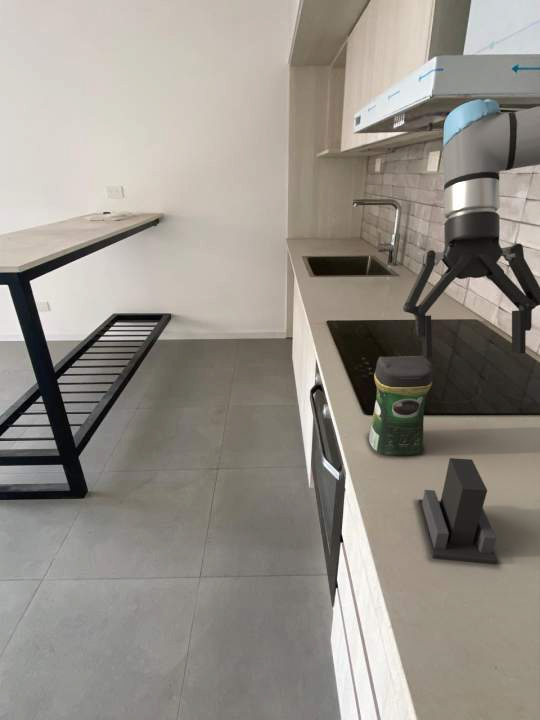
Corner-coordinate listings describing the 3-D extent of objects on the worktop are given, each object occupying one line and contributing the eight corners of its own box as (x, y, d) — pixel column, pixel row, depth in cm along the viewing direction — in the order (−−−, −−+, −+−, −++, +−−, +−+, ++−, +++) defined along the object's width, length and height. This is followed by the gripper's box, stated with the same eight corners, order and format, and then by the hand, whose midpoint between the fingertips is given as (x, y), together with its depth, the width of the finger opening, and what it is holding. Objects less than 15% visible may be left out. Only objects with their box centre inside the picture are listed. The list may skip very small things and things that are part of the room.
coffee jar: (412, 432, 80) (425, 348, 72) (426, 458, 72) (442, 367, 64) (364, 433, 80) (372, 349, 72) (373, 459, 73) (383, 369, 65)
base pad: (470, 509, 61) (476, 488, 60) (494, 566, 52) (502, 544, 51) (417, 504, 62) (421, 484, 61) (432, 560, 54) (436, 538, 52)
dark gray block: (459, 511, 59) (472, 459, 55) (472, 545, 54) (487, 490, 50) (438, 510, 60) (449, 457, 56) (449, 543, 54) (462, 488, 50)
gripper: (546, 215, 62) (544, 349, 64) (383, 228, 66) (386, 355, 68) (576, 200, 55) (573, 352, 57) (391, 217, 58) (394, 360, 60)
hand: (472, 354), depth 62 cm, fingers open, 13 cm apart
